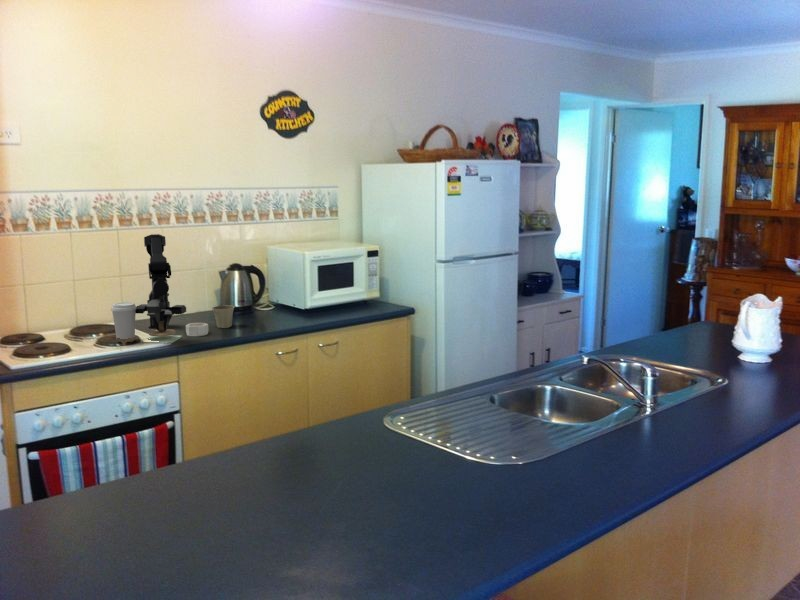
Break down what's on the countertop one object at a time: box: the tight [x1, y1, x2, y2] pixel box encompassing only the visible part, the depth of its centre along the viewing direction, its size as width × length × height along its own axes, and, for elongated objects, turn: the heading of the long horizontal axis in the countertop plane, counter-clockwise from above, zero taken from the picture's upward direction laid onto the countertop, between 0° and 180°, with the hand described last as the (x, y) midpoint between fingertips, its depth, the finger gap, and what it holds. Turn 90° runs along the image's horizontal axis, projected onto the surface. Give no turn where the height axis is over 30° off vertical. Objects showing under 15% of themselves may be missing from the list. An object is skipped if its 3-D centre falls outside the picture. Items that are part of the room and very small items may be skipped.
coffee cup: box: [110, 301, 137, 339], centre depth 287 cm, size 10×10×15 cm
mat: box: [146, 334, 183, 344], centre depth 292 cm, size 12×11×1 cm
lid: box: [148, 321, 176, 337], centre depth 291 cm, size 10×10×5 cm
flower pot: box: [211, 304, 236, 329], centre depth 317 cm, size 9×9×9 cm
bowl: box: [185, 322, 209, 337], centre depth 302 cm, size 8×8×4 cm
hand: (162, 330), depth 291 cm, fingers closed on lid, 2 cm apart
